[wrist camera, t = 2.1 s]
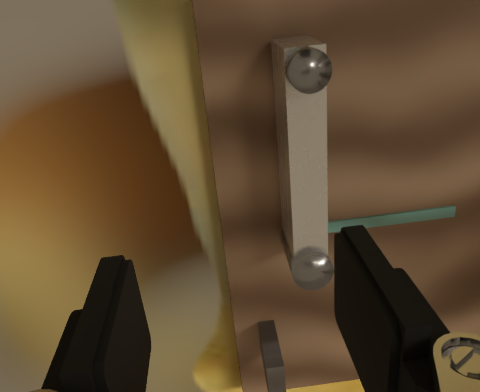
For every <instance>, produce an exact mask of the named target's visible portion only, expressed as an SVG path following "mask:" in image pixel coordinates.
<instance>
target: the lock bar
mask: <svg viewBox="0 0 480 392" xmlns="http://www.w3.org/2000/svg"><path fill="white" fill-rule="evenodd" d="M271 49H272V66H273V82H274V99H275V115H276V132H277V148H278V165H279V181H280V198H281V214H282V229H281V231H280V239H281V243H282V246H283V249H284V252H285V255H286V258H287V261H288V264H289V267H290V270H291V273H292V276H293V279H294V282H295V283H296V285H297V286H299V287H300V288H302V289H305V290H317V289H320V288H322V287H324V286H326V285H327V284H328V283H329V282H330V281H331V279H332V277H333V274H334V267H333V265H332V262H331V260H330V258H329V256H328V179H327V84H328V82H329V81H330V79H331V76H332V64H331V61H330V59H329V57H328V56H327V55H326V44H325V43H323V42H321V41H319V40H316V39H314V38H312V37H309V36H297V37H288V38H279V39H271Z"/></svg>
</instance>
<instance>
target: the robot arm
mask: <svg viewBox="0 0 480 392" xmlns="http://www.w3.org/2000/svg"><path fill="white" fill-rule="evenodd" d="M334 313H335V319H336V322H337V325H338V328H339V330H340V332H341V335H342V337H343V340H344V342H345V345H346V347H347V349H348V352H349V354H350V357H351V359H352V361H353V364H354V366H355V369H356V371H357V374H358V376H359V378H360V381H361V383H362V386H363V388H364V390H365V392H480V336H479V335H476V334H471V333H465V332H453V333H450V331H449V330H448V329H447V327H446V326H445V325H444V323H443V322H442V320H441V319H440V318H439V316H438V315H437V314H436V312H435V311H434V310H433V308H432V307H431V305H430V304H429V303H428V301H427V300H426V299H425V297H424V296H423V295H422V293H421V292H420V290H419V289H418V288H417V286H416V285H415V284H414V282H413V281H412V280H411V278H410V277H409V275H408V274H407V273H406V271H405V270H404V269H402V268H393V267H392V266H391V264H390V263H389V261H388V260H387V258H386V257H385V256H384V254H383V253H382V251H381V250H380V248H379V247H378V246H377V244H376V243H375V241H374V240H373V238H372V237H371V236H370V234H369V233H368V231H367V230H366V228H365V227H364V226H363V225H355V226H348V227H342V228H341V231H340V233H335V235H334ZM150 352H151V337H150V333H149V328H148V324H147V320H146V316H145V311H144V307H143V303H142V299H141V295H140V291H139V286H138V282H137V278H136V274H135V270H134V266H133V262H132V260H125V258H124V256H123V255H120V256H112V257H104V258H101V260H100V262H99V265H98V268H97V270H96V273H95V276H94V279H93V281H92V284H91V287H90V290H89V293H88V295H87V298H86V301H85V304H84V307H83V309H81V310H74V311H73V312H72V313H71V315H70V316H69V319H68V321H67V324H66V327H65V329H64V332H63V334H62V337H61V339H60V342H59V345H58V347H57V350H56V352H55V355H54V357H53V360H52V362H51V365H50V368H49V370H48V373H47V376H46V378H45V380H44V383H43V386H42V388H41V389H39V390H35V391H31V392H145V391H146V384H147V376H148V368H149V359H150Z"/></svg>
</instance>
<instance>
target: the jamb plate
mask: <svg viewBox="0 0 480 392" xmlns="http://www.w3.org/2000/svg"><path fill="white" fill-rule="evenodd" d="M192 5H193V13H194V21H195V28H196V36H197V44H198V51H199V59H200V67H201V74H202V82H203V90H204V97H205V105H206V113H207V121H208V128H209V136H210V144H211V151H212V159H213V167H214V174H215V182H216V190H217V197H218V205H219V213H220V221H221V228H222V236H223V244H224V251H225V259H226V267H227V274H228V282H229V290H230V297H231V305H232V313H233V321H234V328H235V336H236V344H237V351H238V359H239V367H240V374H241V382H242V390H243V392H286V389H291V388H298V387H305V386H313V385H320V384H327V383H334V382H341V381H348V380H355V379H360V378H359V376H358V374H357V371H356V369H355V366H354V364H353V361H352V359H351V357H350V354H349V352H348V349H347V347H346V345H345V342H344V340H343V337H342V335H341V332H340V330H339V328H338V325H337V322H336V319H335V313H334V274H333V277H332V279H331V281H330V282H329V283H328V284H327V285H326V286H324V287H322V288H320V289H317V290H305V289H302V288H300V287H299V286H297V285H296V283H295V282H294V279H293V276H292V273H291V270H290V267H289V264H288V261H287V258H286V255H285V252H284V249H283V246H282V243H281V239H280V231H281V229H282V214H281V198H280V181H279V165H278V148H277V132H276V115H275V99H274V82H273V66H272V49H271V39H279V38H288V37H297V36H309V37H312V38H314V39H316V40H319V41H321V42H323V43H325V44H326V55H327V56H328V57H329V59H330V61H331V64H332V76H331V79H330V81H329V82H328V84H327V179H328V256H329V258H330V260H331V262H332V265H333V267H334V235H335V233H340V231H341V228H342V227H348V226H355V225H363V226H364V227H365V228H366V230H367V231H368V233H369V234H370V236H371V237H372V238H373V240H374V241H375V243H376V244H377V246H378V247H379V248H380V250H381V251H382V253H383V254H384V256H385V257H386V258H387V260H388V261H389V263H390V264H391V266H392V267H393V268H402V269H404V270H405V271H406V273H407V274H408V275H409V277H410V278H411V280H412V281H413V282H414V284H415V285H416V286H417V288H418V289H419V290H420V292H421V293H422V295H423V296H424V297H425V299H426V300H427V301H428V303H429V304H430V305H431V307H432V308H433V310H434V311H435V312H436V314H437V315H438V316H439V318H440V319H441V320H442V322H443V323H444V325H445V326H446V327H447V329H448V330H449V331H450V333H453V332H465V333H471V334H476V335H479V336H480V0H192Z"/></svg>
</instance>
